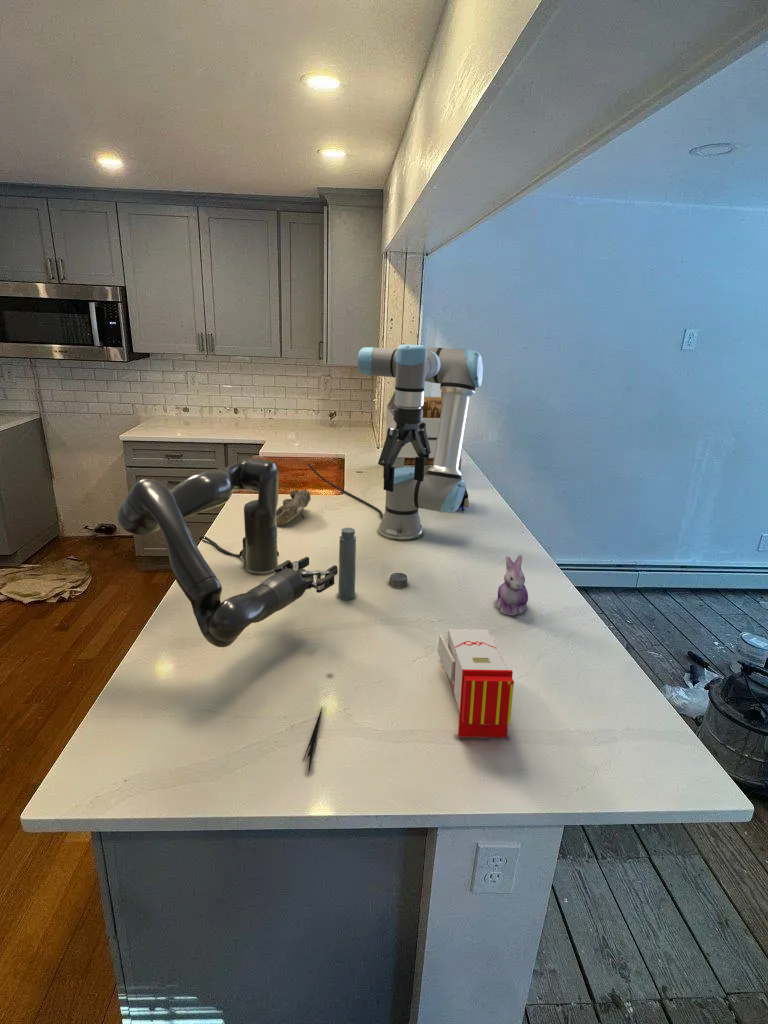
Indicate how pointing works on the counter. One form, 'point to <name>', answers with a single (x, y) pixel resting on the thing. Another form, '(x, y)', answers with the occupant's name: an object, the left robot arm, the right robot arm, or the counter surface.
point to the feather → (313, 740)
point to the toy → (478, 682)
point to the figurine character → (464, 500)
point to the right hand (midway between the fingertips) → (404, 485)
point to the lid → (398, 580)
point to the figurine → (512, 589)
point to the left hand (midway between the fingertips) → (322, 564)
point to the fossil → (292, 506)
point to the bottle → (347, 563)
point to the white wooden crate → (432, 424)
